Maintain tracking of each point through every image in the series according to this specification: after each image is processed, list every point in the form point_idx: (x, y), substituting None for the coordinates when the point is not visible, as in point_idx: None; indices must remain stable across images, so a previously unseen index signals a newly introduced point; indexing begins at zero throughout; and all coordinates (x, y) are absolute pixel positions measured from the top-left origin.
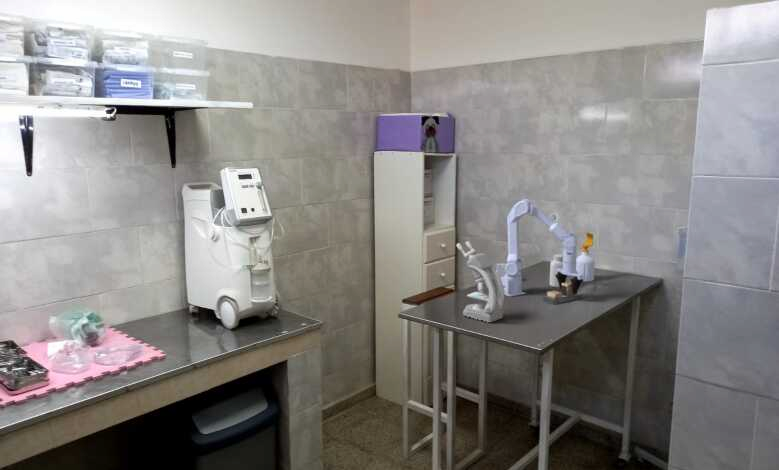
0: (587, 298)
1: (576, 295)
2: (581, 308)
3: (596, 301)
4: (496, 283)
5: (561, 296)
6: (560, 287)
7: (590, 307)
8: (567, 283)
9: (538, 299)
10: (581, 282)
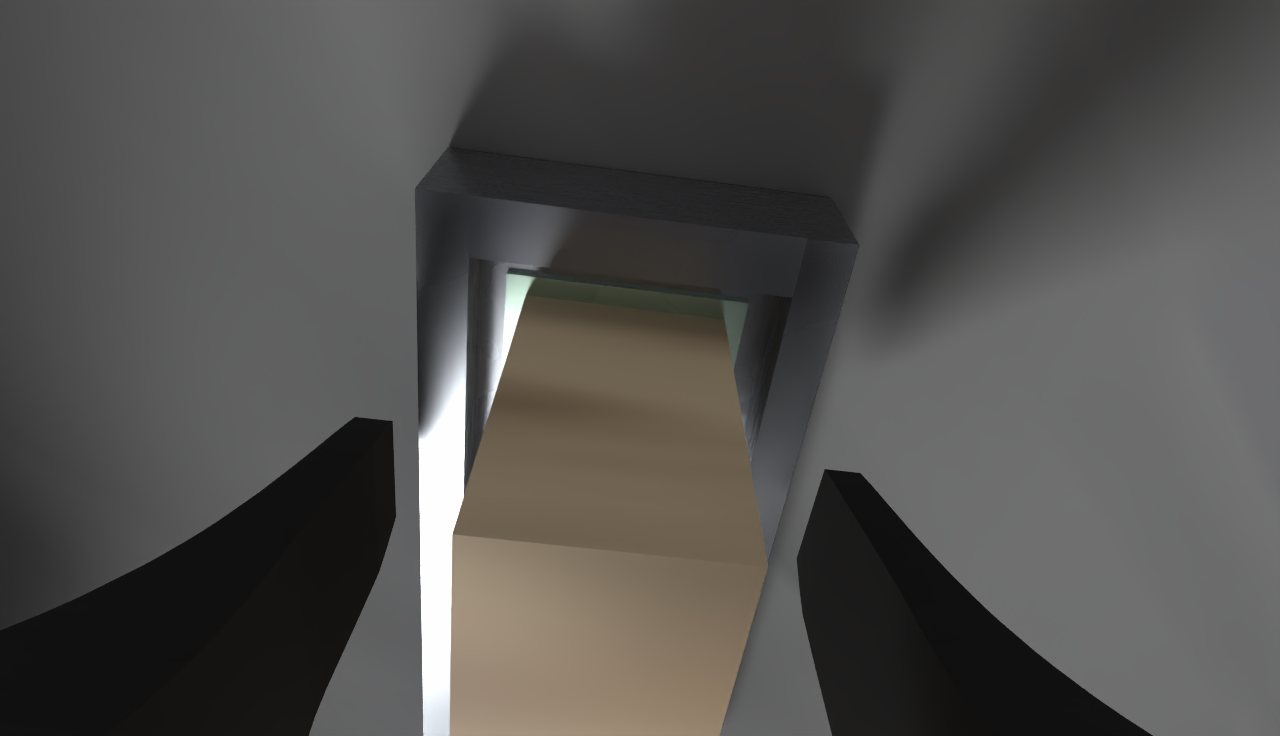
0: (913, 11)
1: (812, 406)
2: (1128, 632)
3: (1232, 59)
4: None
5: None
6: (362, 581)
7: (1250, 503)
8: (583, 730)
9: (359, 732)
10: (1140, 734)
